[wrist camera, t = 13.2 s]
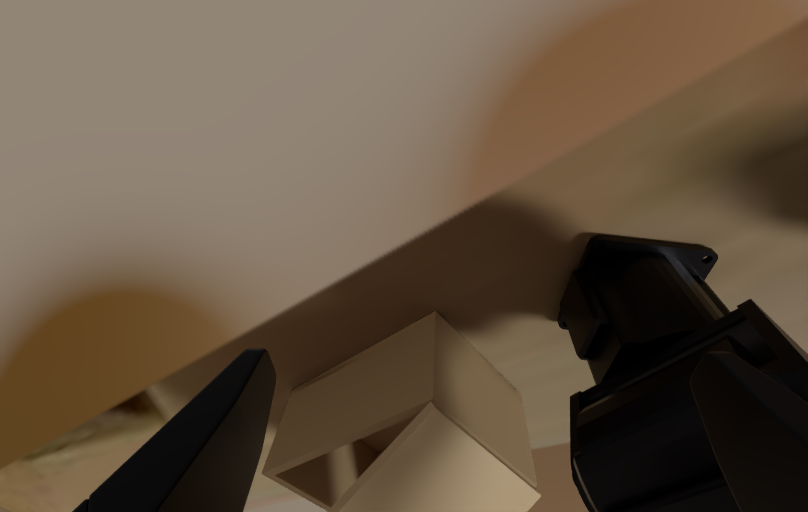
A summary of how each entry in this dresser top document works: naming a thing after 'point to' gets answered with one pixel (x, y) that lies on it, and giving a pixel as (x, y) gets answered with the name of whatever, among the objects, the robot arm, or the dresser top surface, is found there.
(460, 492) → the carton lid
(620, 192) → the dresser top surface
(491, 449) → the carton
